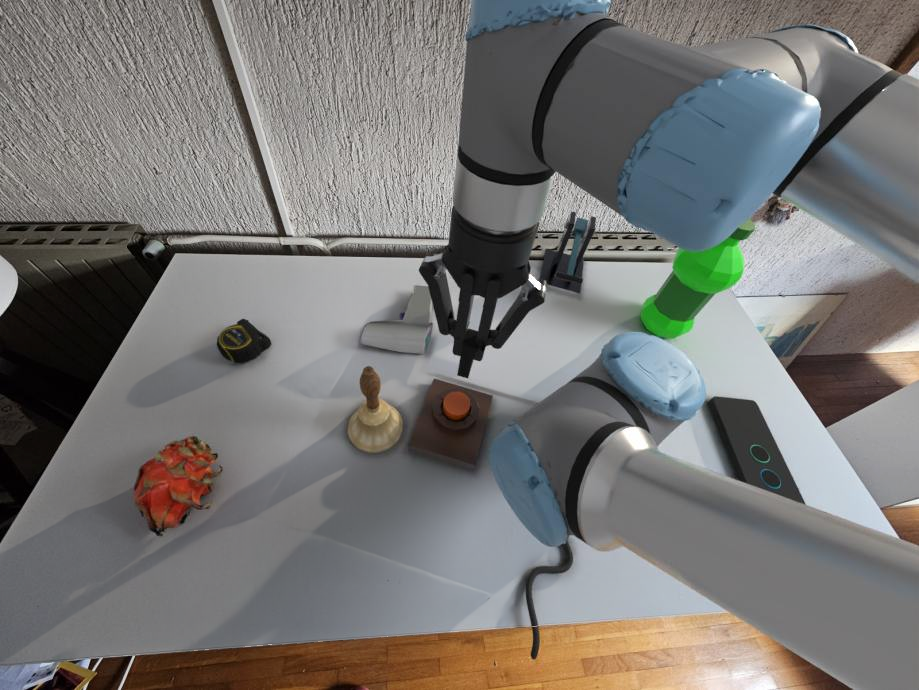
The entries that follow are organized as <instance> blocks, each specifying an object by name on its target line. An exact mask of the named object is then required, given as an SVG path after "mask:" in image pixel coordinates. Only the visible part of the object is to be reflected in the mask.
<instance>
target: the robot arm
mask: <svg viewBox="0 0 919 690" xmlns="http://www.w3.org/2000/svg"><path fill="white" fill-rule="evenodd" d="M611 4H612V2H611V0H472V1H471V9H470V14H469V21H468V28H467V30H466V32H465V36H464V37H465V41H466V50H465V51H466V52H465V63H464V73H463V74H464V75H463V84H462V85H463V86H462V97H461V107H460V108H461V109H460V120H459V131H458V141H457V142H458V143H457V144H458V145H457V152H456V162H455V172H454V180H453V191H452V204H453V205H452V208H451V214H450V222H449V234H448V243H447V245H446V246H445V248H444V251H443V252H441V253H439V254H437V253H435V252H433V251H428V252H426V254H425V256H424V258H423V260H422V261H421V263H420V266H419V267H418V273H419V274H420V276H421V277H422V279H423V280H424V282H425V283H426V286H428V287H429V291H430V296H431V300H432V309H433V312H434V317H435V320H436V323H437V328H438V331H439V334H441V335H442V336H448V335H449V336H451V337H452V339H453V345H452V354H453V355H454V356H457V357H459V361H458V368H457V373H456V375H457V377H461V378H465V379H469V376H470V373H471V370H472V367H473V364H474V361H477V362H481V361H482V360H483V359H484V354H485V351H486V348H487V347H489V346H491V347H492V348H493V349H495V350H499V349H501V348H503V346H504V345H505V344H506V342H507V341H508V340H509V338H510V337H511V336H512V334H513V333H515V331H516V329H517V328H518V327H519V325H520V324H521V323H522V322H523V320H524V319H525V318H526V316H527V315H528V314H529V313H530V312H531V311H533V310H535V309H536V308H538V307H540V306H541V305H543V304H544V303H545V301H546V294H547V288H548V285H547V282H546V281H545V280H543V279H540V278H539V279H536V278H535V277H534V276H533V275H532V274H531V263H530V257H531V253H532V251H533V247H534V244H535V241H536V237H537V234H538V230H539V228H540V221H541V219H542V218H543V215H544V211H545V209H546V205H547V202H548V199H549V196H550V192H551V189H552V186H553V183H554V179H555V176H556V174H558V175H561V176H562V177H564V179H567V180H568V181H569V182H571V183H572V184H573V185H575V186H577V187H579V189H581V190H583V191H584V192H585V193H587V194H588V195H590V196H592V197H593V198H595V199H596V200H597V201H599V202H600V203H602V204H604V205H605V206H607V207H608V208H609V209H611V210H613V212H615V213H617V214H618V215H620V216H621V217H623V218H624V219H625V221H626V222H627V223H629V224H630V225H632V226H633V227H635V228H637V229H639V228H640V229H642V230H643V231H646V232H650V233H652V234H653V235H655V236H657V237H658V238H659V237H660V238H661V239H663V240H664V241H666V242H668V243H670V244H672V245H673V246H675V247H677V248H678V249H679V248H681V249H683V250H687V251H704V250H707V249H710V248H712V247H714V246H716V245H718V244H720V243H721V242H723V241H724V240H725V239H727V238H728V237H729V236H730V235H731V234H732V233H733V232H734V231H735V230H736V229H737V228H738V227H739V226H740V225H741V224H742V223H744V222H745V221H746V220H748V219H750V218H751V217H752V216H753V215H754V214H755V213H756V212H757V211H758V209H760V207H761V206H762V205H763V204H764V203H765V202H766V201H767V200H768V199H769V198H770V197H771V196H772V194H773V195H775V196H776V197H778V198H781V199H783V200H784V201H786V202H787V203H788V204H791V205H792V206H794V207H796V208H797V209H798V210H800V211H802V212H803V213H805V214H807V215H808V216H810V217H811V218H813V219H815V220H817V221H818V222H820V224H821V223H822V224H823V225H824V226H826V227H827V228H829V229H831V230H833V231H834V232H835V233H837V234H839V235H840V236H842V237H844V238H845V239H847V240H848V241H850V242H852V243H854V244H855V245H856V246H858V247H859V248H862V249H863V250H865V251H866V252H868V253H869V254H871V255H873V256H874V257H876V258H878V259H879V260H881V261H882V262H884V263H886V264H887V265H889V266H890V267H891V268H893V269H894V270H897V271H899V272H900V273H902V274H903V275H905V276H907V277H908V278H910V279H911V280H913V281H915V282H916V283H918V284H919V78H916V77H914V76H912V75H909V74H907V73H904V74H903V73H902V72H900V71H897V70H895V69H892V68H891V67H889V66H887V65H885V64H884V63H881V62H879V61H877V60H875V59H873V58H870V57H868V56H865V55H863V54H861V53H859V50H858V48H857V46H856V45H855V44H854V42H853V41H852V39H850V37H849V36H848V35H846V34H844V33H843V32H841V31H839V30H836V29H833V28H828V27H823V26H820V25H817V24H812V23H807V24H802V25H788V26H784V27H780V28H778V29H775V30H772V31H771V32H770V31H769V32H767V33H763V34H758V35H757V34H756V35H752V36H748V37H739V38H734V39H729V40H724V41H717V42H712V43H707V44H702V45H697V46H693V45H686V44H681V43H677V42H675V41H671V40H670V39H669V40H668V39H665V38H664V37H663V38H662V37H659V36H657V35H653V34H650V33H648V32H644V31H642V30H638V29H635V28H633V27H629V26H627V25H626V24H624V23H621V22H618V21H617V20H616V19H615V18H613V17H610V16H607V15H608V13H609V11H610V8H611ZM446 271H447V272H448V273H449V275H450V276H451V278H452V279H453V281H454V282H455V285H456V286H457V287H458V289H459V295H458V305H457V314H456V319H455V312H454V306H453V301H452V297H451V292H450V287H449V280H448V276H447V272H446ZM519 288H520V292H519V294H518V295H517V296H516V298H515V300H514V302H513V303H512V304H511V306H510V307H509V309H508V310H507V311H506V312H505V314H504V315H503V317H502V318H501V320H500V321H499V323H498V324H497V326H496V327H495V329H491V328H492V323H493V319H494V316H495V312H496V307H497V303H498V300H499V299H501V298H503V297H505V296H508V294H510V293H513V292H514V291H515V290H517V289H519ZM475 296H479V297H481V298H483V304H482V311H481V315H480V321H479V325H478V329H477V330H475V329H472V328H469V326H470V323H471V315H472V311H473V305H474V300H475ZM706 396H707V388H706V384H705V380H704V379H703V378H702V376H701V372H700V370H699V368H698V367H697V366H696V364H695V363H694V362H693V360H692V359H691V358H689V356H688V355H687V354H685V353H684V352H683V351H682V350H681V349H679V348H678V347H677V346H675V344H672V343H671V342H669V341H667V340H666V339H664V338H661V337H656V335H655V334H648V333H645V332H642V331H625V332H622V333H619V334H617V335H615V336H614V337H612V339H610V340H609V341H608V343H605V344H604V345H603V347H602V349H601V352H600V354H599V356H598V357H597V358H596V359H595V360H594V361H593V362H592V363H591V364H590V365H589V366H588V367H586V368H585V369H584V370H583V371H581V372H580V373H578V374H577V375H576V376H575V377H573V378H572V379H570V380H569V381H568V382H566V383H565V384H564V385H562V386H560V387H558V389H556V390H555V391H553V392H552V393H551V394H549V395H547V396H546V397H545V398H544V399H542V400H541V401H539V402H538V403H537V404H535V405H534V406H532V407H531V408H529V410H527V411H524V413H523V414H521V415H519V417H517V418H515V419H514V420H512V421H509V423H508V425H507V426H506V428H504V429H503V430H502V431H500V432H499V433H498V435H496V436H495V437H494V438H493V439H492V441H491V443H490V445H489V448H488V462H489V466H490V469H491V472H492V475H493V478H494V480H495V482H496V485H497V486H498V488H499V490H500V492H501V494H502V496H503V497H504V499H505V501H506V503H507V504H508V505H509V507H510V509H511V510H512V512H513V513H514V514H515V516H516V517H517V519H518V520H519V521H520V523H521V524H522V525H523V526H524V527H525V529H526V530H527V531H528V532H529V533H530V534H531V535H532V536H533V537H535V539H536V540H538V542H540V543H541V544H543V545H545V546H547V547H549V548H557V547H559V546H561V545H563V549H564V551H565V554H566V562H565V563H564V564H562V565H559V566H558V565H557V566H552V565H539V566H536V567H535V568H533V569H532V570H531V571H530V573H529V575H528V577H527V580H526V584H525V600H526V607H527V611H528V616H529V620H530V626H531V630H532V631H531V632H532V645H531V650H530V658H531V660H533V661H534V660H536V659H537V658H538V655H539V650H540V645H541V644H540V643H541V638H540V637H541V635H540V627H539V623H538V618H537V614H536V610H535V605H534V600H533V585H534V581H535V580H536V577H538V576H539V575H540V574H558V575H560V574H564V573H566V572H568V571H569V570H570V569H571V568H572V566H573V563H574V555H573V551H572V548H571V545H570V543H569V538H570V536H574V537H576V539H579V540H580V541H581V542H583V543H585V544H586V545H588V546H589V547H590V548H592V549H594V550H596V551H599V552H603V553H607V552H612V551H616V550H618V549H622V548H625V549H627V550H628V551H629V552H632V553H633V554H635V555H637V556H638V557H639V558H641V559H643V560H645V561H646V562H648V563H649V564H651V565H652V566H654V567H656V568H657V569H659V570H661V571H662V572H664V573H665V574H667V575H668V576H670V577H672V578H673V579H675V580H677V581H678V582H680V583H682V584H683V585H684V586H686V587H688V588H690V589H691V590H693V591H694V592H696V593H697V594H699V595H701V596H702V597H704V598H706V599H707V600H708V601H710V602H712V603H714V604H715V605H717V606H718V607H720V608H721V609H723V610H724V611H726V612H728V613H730V614H731V615H733V616H734V617H736V618H738V619H739V620H741V621H743V622H744V623H746V624H747V625H749V626H750V627H752V628H754V629H755V630H757V631H759V632H760V633H762V634H763V635H765V636H767V637H768V638H770V639H772V640H773V641H775V642H776V643H778V644H780V645H781V646H783V647H784V648H786V650H787V649H788V650H789V651H791V652H792V653H794V654H796V655H797V656H799V657H800V658H802V659H804V660H805V661H807V662H809V663H810V664H812V665H813V666H814V667H816V668H818V669H820V670H821V671H823V672H824V673H826V674H828V675H829V676H830V677H833V678H834V679H835V680H837V681H838V682H841V683H842V684H844V685H845V686H847V687H848V688H850V689H851V690H919V545H918V544H915V543H912V542H910V541H908V540H905V539H901V538H899V537H896V536H893V535H890V534H888V533H885V532H882V531H879V530H877V529H874V528H871V527H868V526H865V525H863V524H860V523H857V522H854V521H852V520H849V519H846V518H843V517H841V516H838V515H836V514H833V513H830V512H827V511H824V510H821V509H818V508H816V507H813V506H811V505H807V504H806V503H805V504H806V505H805V504H802V503H799V502H797V501H794V500H791V499H788V498H786V497H783V496H780V495H777V494H774V493H772V492H769V491H766V490H763V489H761V488H758V487H755V486H752V485H750V484H747V483H744V482H741V481H739V480H738V479H737V478H736V479H735V478H733V477H730V476H727V475H725V474H722V473H719V472H717V471H714V470H711V469H708V468H705V467H703V466H700V465H698V464H694V463H692V462H689V461H686V460H683V459H680V458H677V457H675V456H673V455H669V454H668V453H667V454H666V453H664V452H661V451H660V449H659V448H658V447H659V446H660V445H661V443H662V442H664V441H665V440H666V438H668V437H669V436H670V435H671V434H672V433H673V432H674V431H675V430H676V429H678V427H679V426H681V425H682V424H683V423H685V421H689V420H691V419H692V418H694V417H695V416H696V414H697V412H698V411H699V410H700V409H701V408H702V406H704V405H703V404H704V403H705V401H706ZM537 625H538V626H537ZM532 626H537V627H532Z"/></svg>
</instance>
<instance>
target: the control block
mask: <svg viewBox="0 0 919 690" xmlns="http://www.w3.org/2000/svg"><path fill="white" fill-rule="evenodd" d="M451 392H461V393H464V394H465V395H466V396H467V397H468V398H469V400H470V409H469V413H468V415H467V416H466V417H465V418H464V419H462V420H459V421H454V420H451V419H449V418H447V417H446V416H445V414H444V412H443V402H444V398H445V397H446V395H448V394H449V393H451ZM493 398H494V395H492V394H489V393H486V392H482V391H479V390H475V389H473V388H468V387H466V386H465V387H464V386H461V385H458V384H455V383H451V382H449V381H444V380H441V379H438V378H433V380H432V382H431V384H430V388H429V390H428V393H427V395H426V398H425V400H424V404H423V406H422V407H421V410H420V413H419V416H418V418H417V421H416V424H415V427H414V429H413V432H412V434H411V437H410V439H409V443H408V451H409V452H411V453H415V454H418V455H421V456H425V457H427V458H432V459H434V460H437V461H440V462H443V463H447V464H451V465H454V466H457V467H461V468H464V469H466V470H470V471H474V470H475V467H476V464H477V461H478V457H479V453H480V448H481V445H482V441H483V437H484V433H485V430H486V429H485V428H486V425H487V420H488V417H489V413H490V410H491V405H492V402H493Z"/></svg>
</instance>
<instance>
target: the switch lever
mask: <svg viewBox="0 0 919 690" xmlns="http://www.w3.org/2000/svg"><path fill="white" fill-rule="evenodd" d="M588 223H589V219H586V218H581V217H579V216H576V218H575V224H574V227H573V230H572V232H571V235H570V237H574V238H573V243H572V247H571V251H570V254H569V255H570V260H569V264H568V269H567V273H566V274H565V273H561V272H558V271H557V272H556V275H555V278H558V279H562V280H566V281H570V282H574V283H577V284H582V285H583V281H584V277H582V278H581V277H577V276H573V273H574V268H575V264H576V259H577V254H578V249H579V245H580V241H581V239H582V238H583V236H584V234H585V232H586V229H587V225H588Z"/></svg>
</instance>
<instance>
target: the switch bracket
mask: <svg viewBox="0 0 919 690" xmlns="http://www.w3.org/2000/svg"><path fill="white" fill-rule="evenodd" d="M576 218H577V212H576V211H571V212H570V214H569V216H568V219H567V220H565V222H564V225H563V229H564V230H563V232H562V235H561V237H560V240H559V243H558V245H557V248H556V250H553V249H549V248H545V252H544V257H543V262H542V265H541V270H540V275H539V279H543V280H545V281H546V282H547V286H552V287H554V288H559V289H563V290H567V291H570V292H574V293H577V294H581V293H582V285H583V283H582V284H577V283H574V282H570V281H566V280H562V279H558V278H555V275H556V272H557V271H558V272H561V273H565V274H566V273H567V269H568V264H569V260H570V255H571V254H568V253H564V252H565V250H566V248H567V246H568V245H567V244H568V243H569V239H570V237H571V235H572V231H573V227H574V224H575V222H576ZM596 223H597V217H596V216H593V215H592V216H590V218H589V219H588V224H587V229H586V232H585V234H584V236H583V238H581V240H580V245H579V249H578V254H577V259H576V264H575V268H574V273H573V276H577V277H581V278H583V275H584V265H585V258H584V255H585V253H586V251H587V249H588V246H589V244H590V242H591V240H592V237H593V236H594V235H595V234H596V231H597V228H596Z"/></svg>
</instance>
